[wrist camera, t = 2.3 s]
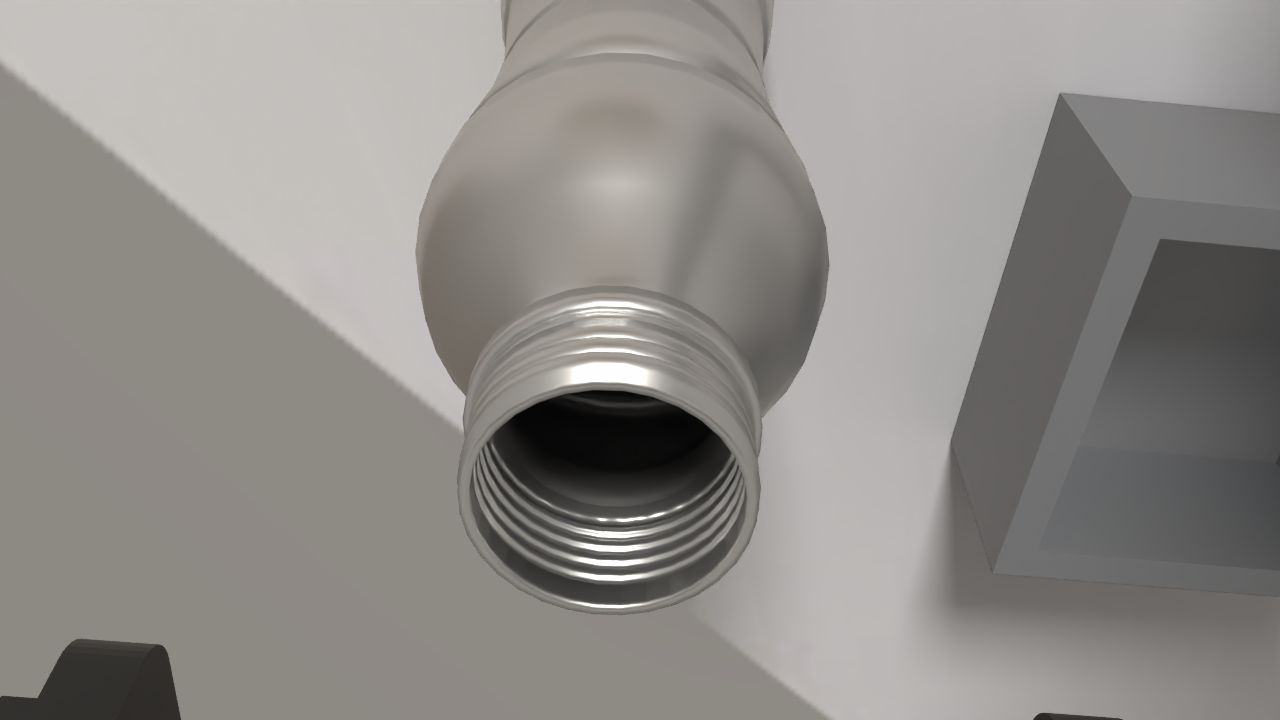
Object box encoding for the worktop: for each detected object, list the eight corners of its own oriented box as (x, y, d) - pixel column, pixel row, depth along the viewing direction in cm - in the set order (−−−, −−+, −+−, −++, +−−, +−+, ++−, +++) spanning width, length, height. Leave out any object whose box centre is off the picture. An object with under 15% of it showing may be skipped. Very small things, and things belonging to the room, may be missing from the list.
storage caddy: (1060, 92, 32) (1131, 196, 27) (1458, 131, 32) (1600, 240, 27) (951, 440, 39) (992, 573, 34) (1280, 469, 39) (1368, 604, 34)
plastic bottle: (764, -179, 28) (901, 232, 12) (768, 92, 32) (877, 686, 16) (493, -157, 28) (260, 269, 12) (531, 108, 32) (392, 703, 16)
